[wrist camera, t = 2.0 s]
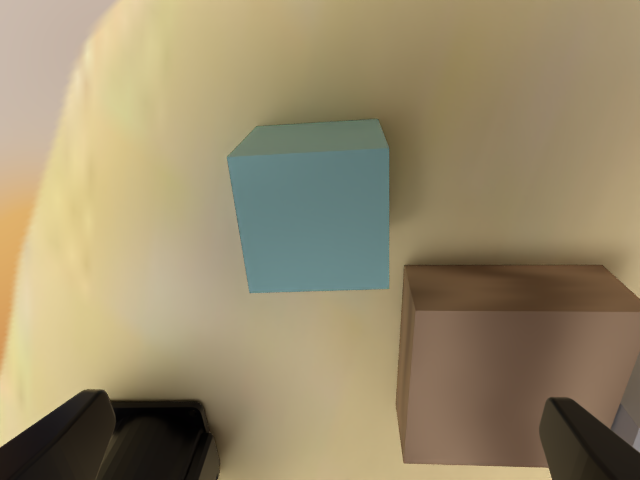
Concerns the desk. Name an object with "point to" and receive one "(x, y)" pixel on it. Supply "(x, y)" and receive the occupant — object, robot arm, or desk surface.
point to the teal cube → (313, 206)
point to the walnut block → (507, 356)
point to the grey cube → (630, 410)
